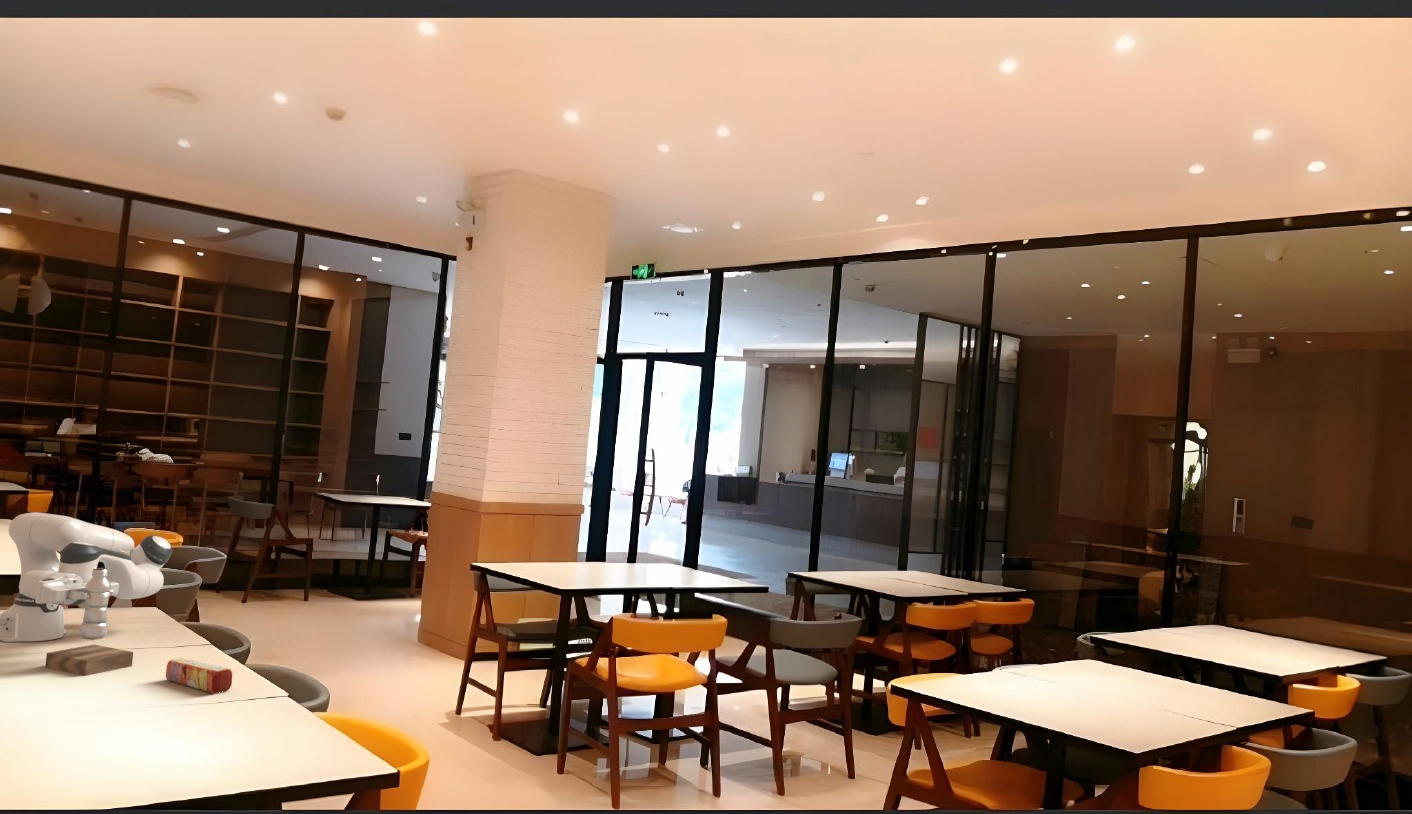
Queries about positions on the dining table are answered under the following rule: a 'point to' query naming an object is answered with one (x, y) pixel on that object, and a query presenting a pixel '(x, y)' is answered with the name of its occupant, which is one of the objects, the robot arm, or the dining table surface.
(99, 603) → the plastic bottle
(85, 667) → the walnut stand
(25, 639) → the robot arm
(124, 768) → the dining table surface
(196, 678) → the snack package
